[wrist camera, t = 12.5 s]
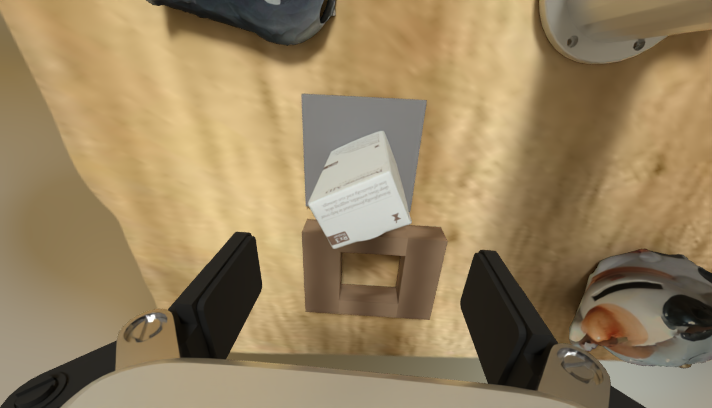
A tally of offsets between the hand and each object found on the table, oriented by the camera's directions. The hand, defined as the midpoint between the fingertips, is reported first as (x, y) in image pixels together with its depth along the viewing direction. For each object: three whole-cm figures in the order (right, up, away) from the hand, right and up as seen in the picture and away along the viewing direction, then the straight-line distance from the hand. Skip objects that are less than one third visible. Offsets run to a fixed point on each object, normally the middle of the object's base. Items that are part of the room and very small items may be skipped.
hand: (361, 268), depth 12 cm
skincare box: (+1, +8, +17) cm, 19 cm away
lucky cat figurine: (+32, -8, +23) cm, 41 cm away
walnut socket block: (+2, -5, +23) cm, 24 cm away
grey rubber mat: (0, +8, +17) cm, 19 cm away
